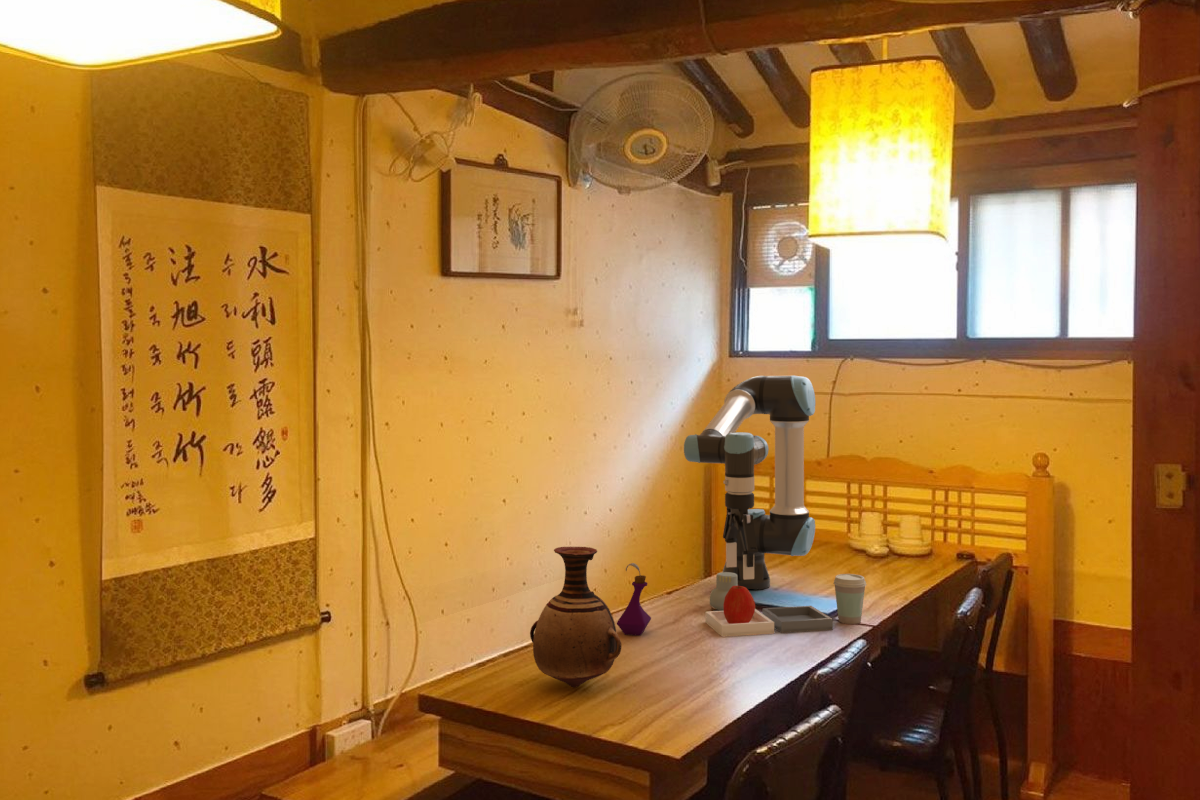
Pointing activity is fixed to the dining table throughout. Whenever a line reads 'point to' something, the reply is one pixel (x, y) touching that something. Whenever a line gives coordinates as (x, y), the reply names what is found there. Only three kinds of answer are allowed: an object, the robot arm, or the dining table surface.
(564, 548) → the vase
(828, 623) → the grey square tray
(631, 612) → the perfume bottle
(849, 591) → the coffee cup
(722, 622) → the beige square dish
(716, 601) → the air freshener
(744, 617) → the apple
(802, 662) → the dining table surface
